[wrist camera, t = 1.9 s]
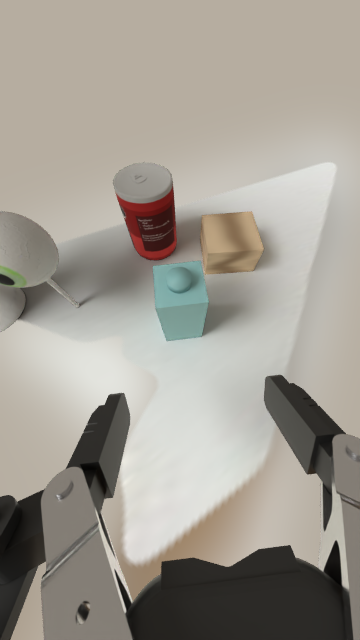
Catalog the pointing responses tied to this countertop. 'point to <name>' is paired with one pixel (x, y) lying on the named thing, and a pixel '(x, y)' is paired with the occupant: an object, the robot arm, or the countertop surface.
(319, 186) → the countertop surface
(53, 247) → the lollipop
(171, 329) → the teal brick
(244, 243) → the wooden block
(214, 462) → the countertop surface
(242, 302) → the countertop surface
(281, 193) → the countertop surface
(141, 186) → the canned food
